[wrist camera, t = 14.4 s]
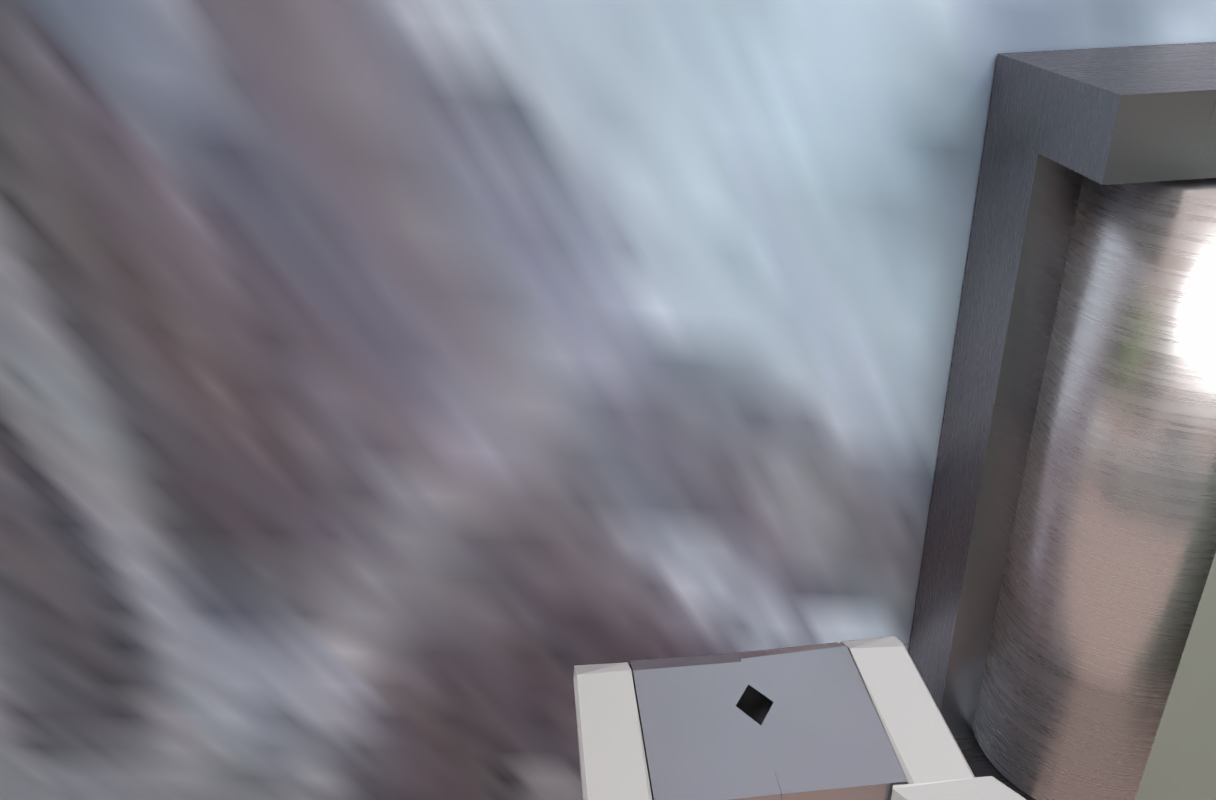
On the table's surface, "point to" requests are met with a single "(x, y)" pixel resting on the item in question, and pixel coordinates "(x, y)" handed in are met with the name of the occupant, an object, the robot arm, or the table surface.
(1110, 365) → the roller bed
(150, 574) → the table surface
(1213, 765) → the slab
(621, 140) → the table surface
